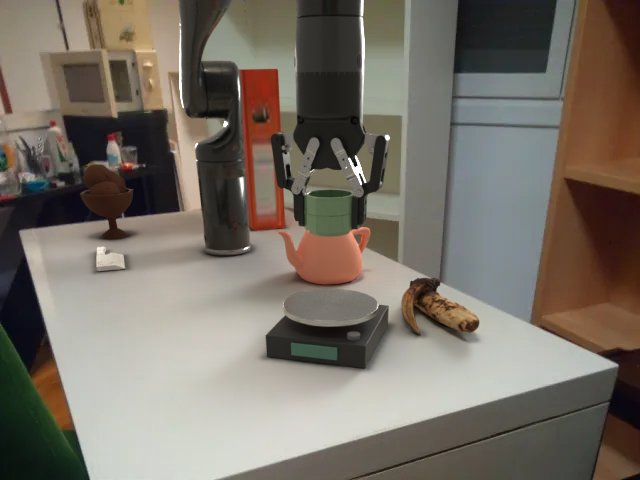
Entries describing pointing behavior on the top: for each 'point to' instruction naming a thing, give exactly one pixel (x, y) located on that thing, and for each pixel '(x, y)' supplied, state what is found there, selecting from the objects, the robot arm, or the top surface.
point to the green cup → (328, 212)
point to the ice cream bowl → (106, 197)
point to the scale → (327, 341)
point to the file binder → (261, 147)
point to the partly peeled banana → (435, 307)
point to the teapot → (327, 256)
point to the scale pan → (330, 307)
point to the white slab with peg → (108, 260)
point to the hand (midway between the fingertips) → (329, 226)
